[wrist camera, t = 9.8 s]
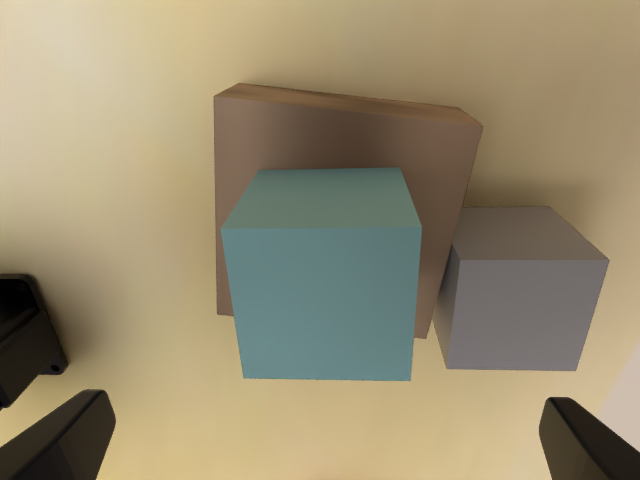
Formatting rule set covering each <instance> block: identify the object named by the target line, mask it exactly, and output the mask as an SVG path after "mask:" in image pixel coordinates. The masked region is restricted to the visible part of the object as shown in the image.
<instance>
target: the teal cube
mask: <svg viewBox="0 0 640 480" xmlns="http://www.w3.org/2000/svg"><path fill="white" fill-rule="evenodd" d="M221 235H222V242H223V248H224V255H225V261H226V267H227V274H228V280H229V287H230V293H231V300H232V306H233V313H234V319H235V326H236V332H237V339H238V345H239V351H240V358H241V364H242V371H243V377H244V378H255V379H314V380H373V381H410V379H411V366H412V353H413V340H414V327H415V314H416V301H417V287H418V274H419V261H420V248H421V235H422V225H421V223H420V220H419V217H418V215H417V212H416V209H415V207H414V204H413V201H412V199H411V196H410V193H409V191H408V188H407V185H406V182H405V180H404V177H403V174H402V172H401V169H400V167H398V168H344V169H289V170H258V171H257V173H256V175H255V176H254V178H253V179H252V181H251V182H250V184H249V185H248V187H247V188H246V190H245V192H244V193H243V195H242V196H241V198H240V199H239V201H238V202H237V204H236V206H235V207H234V209H233V210H232V212H231V213H230V215H229V216H228V218H227V219H226V221H225V223H224V224H223V226H222V227H221Z"/></svg>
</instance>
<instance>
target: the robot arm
mask: <svg viewBox="0 0 640 480" xmlns="http://www.w3.org/2000/svg"><path fill="white" fill-rule="evenodd" d="M23 284H24V285H25V286H24V285H23ZM67 367H68V363H67V360H66V358H65V355H64V353H63V350H62V348H61V346H60V343H59V341H58V338H57V336H56V333H55V331H54V328H53V326H52V323H51V321H50V318H49V316H48V313H47V311H46V308H45V306H44V303H43V301H42V298H41V296H40V293H39V291H38V288H37V286H36V283H35V282H34V280H33V279H32V278H31V277H29V276H27V275H0V411H1V410H2V409H3V408H8V407H10V406H11V405H12V404H13V403H14V401H15V400H16V399H17V398H18V397H19V396H20V395H21V394H22V392H23V391H24V390H25V389H26V388H27V387H28V386H29V385H30V384H31V382H32V381H33V380H34V379H35V378H36V377H37V376H38V375H60V374H62V373H63V372H64V371H65V370H66V369H67ZM115 424H116V418H115V414H114V411H113V408H112V405H111V403H110V400H109V397H108V394H107V393H106V392H105V391H104V390H100V389H87V390H83V391H81V392H80V393H78V394H77V395H75V396H74V397H73V398H71V399H70V400H68V401H67V402H65V403H64V404H62V405H61V406H60V407H58V408H57V409H55V410H54V411H52V412H51V413H49V414H48V415H47V416H45V417H44V418H42V419H41V420H39V421H38V422H36V423H35V424H33V425H32V426H31V427H29V428H28V429H26V430H25V431H23V432H22V433H20V434H19V435H18V436H16V437H15V438H13V439H12V440H10V441H9V442H7V443H6V444H5V445H3V446H2V447H0V480H96V478H97V475H98V472H99V470H100V467H101V464H102V461H103V459H104V456H105V453H106V450H107V448H108V445H109V442H110V440H111V437H112V434H113V431H114V428H115ZM539 436H540V440H541V443H542V447H543V450H544V454H545V457H546V460H547V464H548V467H549V470H550V474H551V477H552V480H640V452H639V451H637V450H636V449H635V448H634V447H632V446H631V445H630V444H628V443H627V442H626V441H625V440H623V439H622V438H621V437H620V436H618V435H617V434H616V433H615V432H613V431H612V430H611V429H609V428H608V427H607V426H606V425H605V424H603V423H602V422H601V421H600V420H598V419H597V418H596V417H595V416H593V415H592V414H591V413H590V412H588V411H587V410H586V409H585V408H583V407H582V406H581V405H580V404H578V403H577V402H576V401H574V400H573V399H571V398H568V397H550V398H548V399H547V400H546V402H545V405H544V409H543V413H542V417H541V420H540V424H539Z"/></svg>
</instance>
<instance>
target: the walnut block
mask: <svg viewBox="0 0 640 480" xmlns="http://www.w3.org/2000/svg"><path fill="white" fill-rule="evenodd" d="M482 129H483V126H482V125H481V124H480V123H478V122H477V121H476V120H474V119H473V118H472V117H470V116H469V115H468V114H466V113H465V112H463V111H462V110H461V109H459V108H457V107H448V106H439V105H430V104H421V103H412V102H403V101H394V100H385V99H376V98H367V97H358V96H349V95H340V94H331V93H322V92H313V91H304V90H295V89H286V88H277V87H268V86H259V85H250V84H241V83H238V84H236V85H234V86H233V87H231V88H229V89H227V90H225V91H223V92H221V93H219V94H217V95H215V96H214V151H215V215H216V278H217V314H218V315H226V316H234V313H233V306H232V300H231V293H230V287H229V280H228V274H227V267H226V261H225V255H224V248H223V242H222V235H221V227H222V226H223V224H224V223H225V221H226V219H227V218H228V216H229V215H230V213H231V212H232V210H233V209H234V207H235V206H236V204H237V202H238V201H239V199H240V198H241V196H242V195H243V193H244V192H245V190H246V188H247V187H248V185H249V184H250V182H251V181H252V179H253V178H254V176H255V175H256V173H257V171H258V170H289V169H344V168H398V167H400V169H401V172H402V174H403V177H404V180H405V182H406V185H407V188H408V191H409V193H410V196H411V199H412V201H413V204H414V207H415V209H416V212H417V215H418V217H419V220H420V223H421V225H422V235H421V248H420V261H419V274H418V287H417V301H416V314H415V327H414V338H422V339H426V338H427V334H428V330H429V327H430V323H431V319H432V315H433V312H434V308H435V304H436V301H437V297H438V293H439V289H440V286H441V282H442V278H443V274H444V271H445V267H446V263H447V260H448V256H449V252H450V248H451V245H452V241H453V237H454V234H455V230H456V226H457V222H458V219H459V215H460V211H461V207H462V204H463V200H464V196H465V193H466V189H467V185H468V181H469V178H470V174H471V170H472V167H473V163H474V159H475V155H476V152H477V148H478V144H479V141H480V137H481V133H482Z"/></svg>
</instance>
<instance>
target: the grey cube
mask: <svg viewBox="0 0 640 480" xmlns="http://www.w3.org/2000/svg"><path fill="white" fill-rule="evenodd" d="M609 261H610V260H609V259H608V258H607V257H606V256H605V255H604V254H602V253H601V252H600V251H599V250H598V249H597V248H596V247H595V246H593V245H592V244H591V243H590V242H589V241H588V240H587V239H585V238H584V237H583V236H582V235H581V234H580V233H579V232H578V231H576V230H575V229H574V228H573V227H572V226H571V225H570V224H568V223H567V222H566V221H565V220H564V219H563V218H562V217H561V216H559V215H558V214H557V213H556V212H555V211H554V210H553V209H551V208H550V207H549V206H542V207H461V211H460V215H459V219H458V222H457V226H456V230H455V234H454V237H453V241H452V245H451V248H450V252H449V256H448V260H447V263H446V267H445V271H444V274H443V278H442V282H441V286H440V289H439V293H438V297H437V301H436V304H435V308H434V312H433V315H432V320H433V323H434V327H435V330H436V334H437V337H438V341H439V344H440V347H441V351H442V354H443V358H444V361H445V365H446V368H447V369H477V370H541V371H576V369H577V366H578V363H579V360H580V356H581V353H582V350H583V346H584V343H585V340H586V336H587V333H588V330H589V327H590V323H591V320H592V317H593V313H594V310H595V307H596V304H597V300H598V297H599V294H600V290H601V287H602V284H603V280H604V277H605V274H606V271H607V267H608V264H609Z"/></svg>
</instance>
